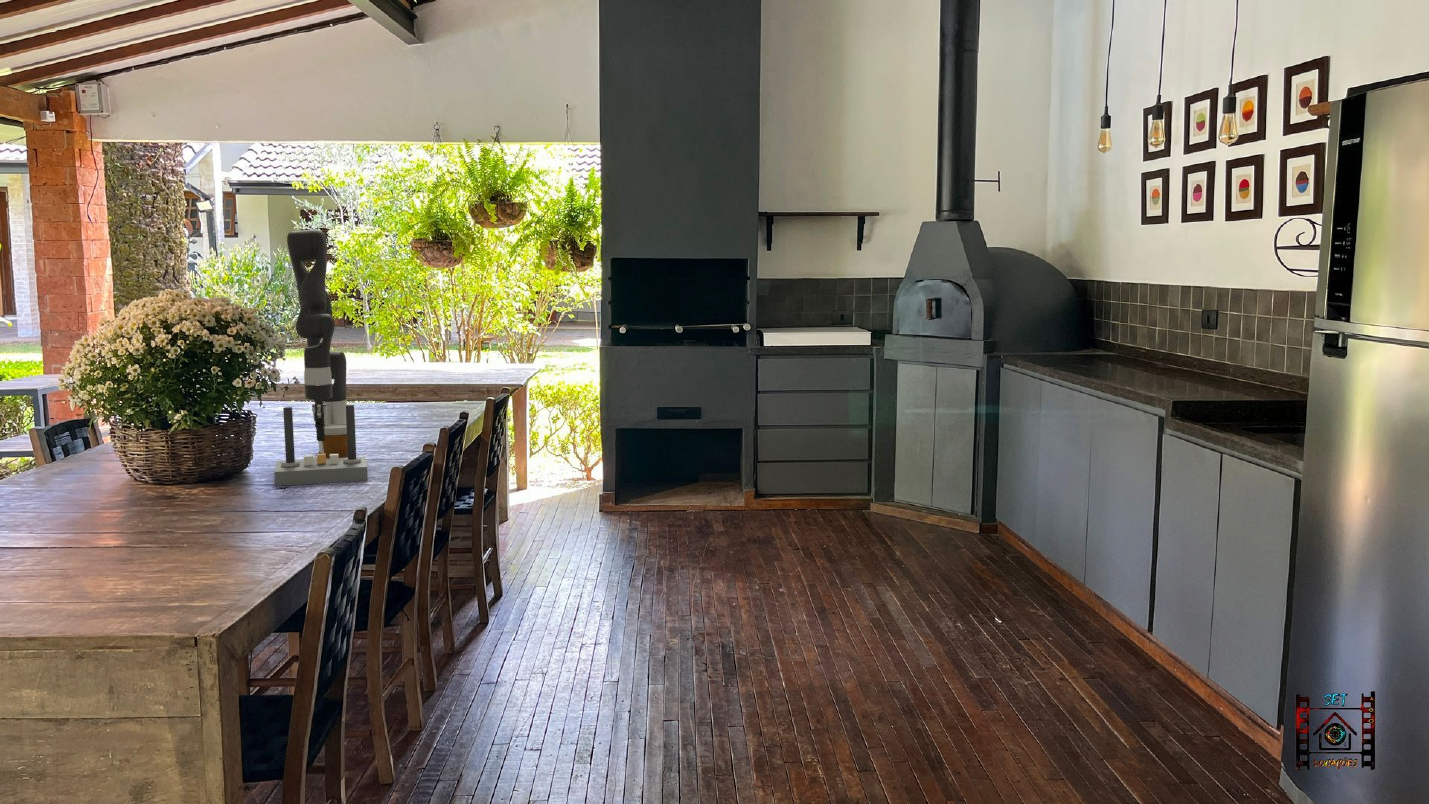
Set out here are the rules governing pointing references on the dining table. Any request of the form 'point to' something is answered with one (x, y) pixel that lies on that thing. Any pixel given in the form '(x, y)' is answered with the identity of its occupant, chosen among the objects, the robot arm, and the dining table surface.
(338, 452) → the disposable coffee cup
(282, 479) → the panel
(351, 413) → the cable post
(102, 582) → the dining table surface
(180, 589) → the dining table surface
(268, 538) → the dining table surface
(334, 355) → the robot arm
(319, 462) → the orange small block
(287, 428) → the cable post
